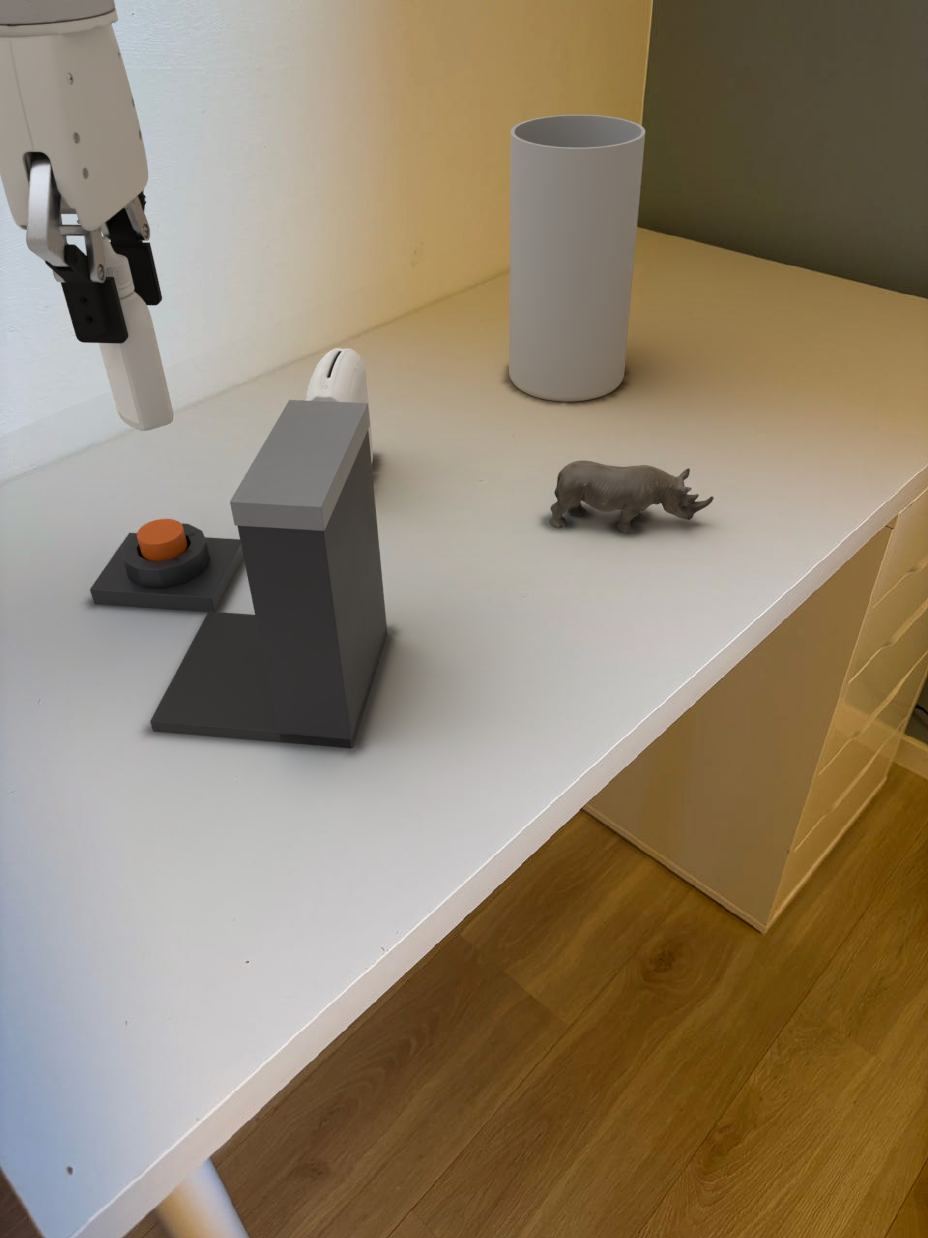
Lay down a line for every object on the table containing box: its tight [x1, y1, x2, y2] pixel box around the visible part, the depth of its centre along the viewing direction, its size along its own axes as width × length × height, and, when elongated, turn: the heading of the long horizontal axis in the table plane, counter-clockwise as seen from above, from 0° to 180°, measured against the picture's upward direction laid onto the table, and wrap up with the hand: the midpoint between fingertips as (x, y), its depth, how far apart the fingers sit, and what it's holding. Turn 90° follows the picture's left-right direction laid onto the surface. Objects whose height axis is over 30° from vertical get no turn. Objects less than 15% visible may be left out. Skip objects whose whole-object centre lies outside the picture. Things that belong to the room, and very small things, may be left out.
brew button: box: [136, 518, 187, 561], centre depth 79 cm, size 4×4×2 cm
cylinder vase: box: [508, 114, 646, 403], centre depth 101 cm, size 12×12×25 cm
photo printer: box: [305, 347, 374, 464], centre depth 89 cm, size 10×4×12 cm, turn 175°
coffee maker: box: [149, 399, 388, 749], centre depth 66 cm, size 14×12×19 cm
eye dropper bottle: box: [98, 235, 174, 432], centre depth 65 cm, size 4×6×12 cm
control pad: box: [89, 522, 244, 613], centre depth 81 cm, size 10×8×4 cm
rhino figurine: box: [548, 459, 715, 535], centre depth 85 cm, size 4×14×6 cm, turn 82°
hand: (121, 318), depth 64 cm, fingers closed on eye dropper bottle, 5 cm apart
